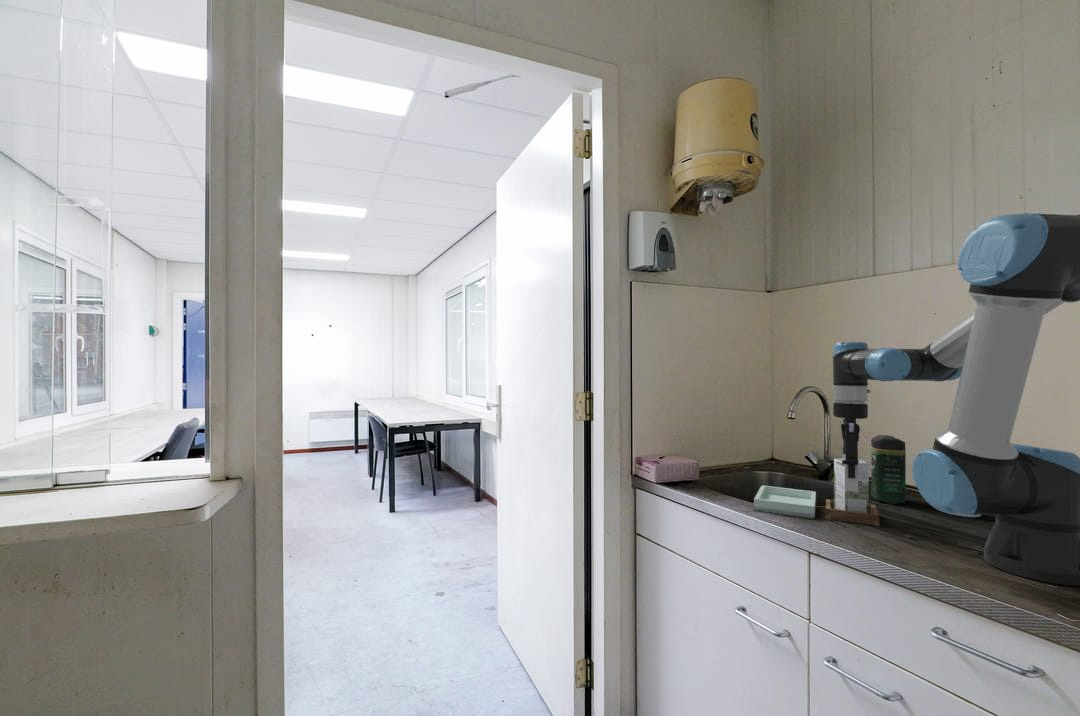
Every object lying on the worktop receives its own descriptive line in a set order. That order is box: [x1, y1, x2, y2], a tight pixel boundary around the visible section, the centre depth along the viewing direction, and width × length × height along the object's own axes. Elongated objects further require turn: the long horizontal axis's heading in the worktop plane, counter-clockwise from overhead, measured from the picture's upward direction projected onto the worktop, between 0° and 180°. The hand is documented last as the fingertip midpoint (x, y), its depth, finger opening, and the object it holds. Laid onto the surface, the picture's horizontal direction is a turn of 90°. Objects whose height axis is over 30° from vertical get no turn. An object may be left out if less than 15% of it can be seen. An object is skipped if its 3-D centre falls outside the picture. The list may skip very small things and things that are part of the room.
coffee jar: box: [870, 434, 907, 504], centre depth 142 cm, size 10×8×19 cm
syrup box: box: [833, 457, 870, 513], centre depth 125 cm, size 6×6×14 cm
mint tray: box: [753, 484, 817, 520], centre depth 134 cm, size 18×14×3 cm
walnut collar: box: [825, 498, 880, 527], centre depth 125 cm, size 11×11×2 cm
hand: (850, 485), depth 126 cm, fingers open, 13 cm apart
